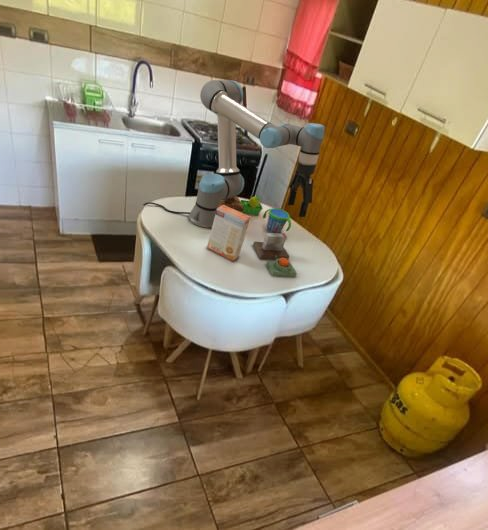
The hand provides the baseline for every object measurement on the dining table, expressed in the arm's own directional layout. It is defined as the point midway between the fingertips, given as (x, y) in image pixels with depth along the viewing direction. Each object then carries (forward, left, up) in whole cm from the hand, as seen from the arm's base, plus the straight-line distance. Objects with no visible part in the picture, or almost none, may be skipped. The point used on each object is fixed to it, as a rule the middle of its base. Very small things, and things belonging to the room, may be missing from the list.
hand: (296, 210), depth 168 cm
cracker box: (-30, -4, -22) cm, 38 cm away
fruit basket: (-4, +36, -22) cm, 43 cm away
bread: (-18, +37, -22) cm, 47 cm away
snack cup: (+4, +19, -22) cm, 29 cm away
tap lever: (-6, -2, -19) cm, 21 cm away
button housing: (-6, -16, -22) cm, 28 cm away
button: (-6, -16, -18) cm, 25 cm away
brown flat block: (-6, -2, -22) cm, 23 cm away
